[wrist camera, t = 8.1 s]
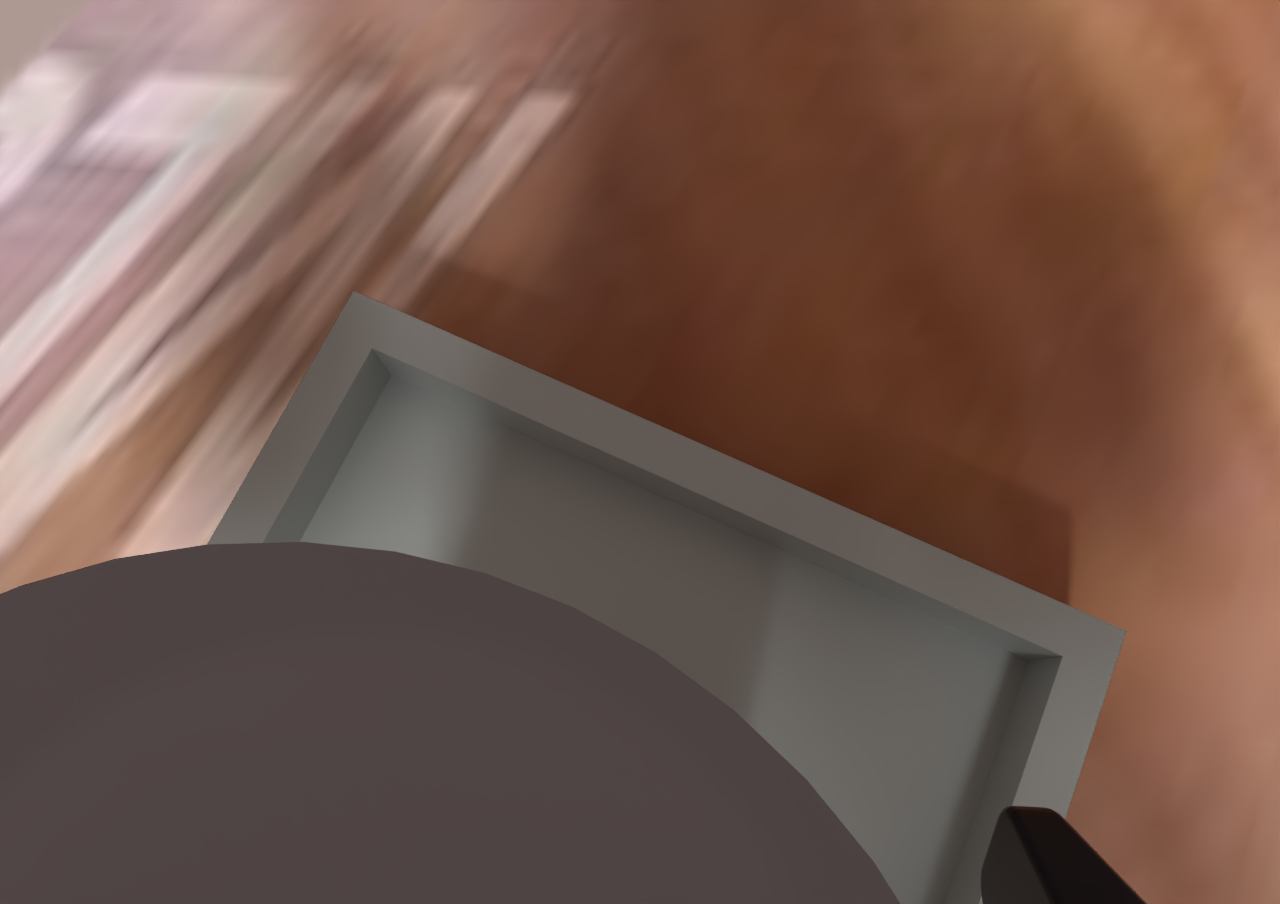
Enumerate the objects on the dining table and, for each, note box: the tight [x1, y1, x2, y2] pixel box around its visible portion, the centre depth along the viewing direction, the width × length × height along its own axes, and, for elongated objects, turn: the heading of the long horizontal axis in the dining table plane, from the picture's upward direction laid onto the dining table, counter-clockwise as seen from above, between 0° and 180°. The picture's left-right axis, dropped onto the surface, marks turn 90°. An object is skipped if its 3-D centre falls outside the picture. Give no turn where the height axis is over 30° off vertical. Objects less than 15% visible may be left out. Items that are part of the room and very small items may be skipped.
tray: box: [207, 291, 1126, 904], centre depth 16 cm, size 14×14×2 cm
